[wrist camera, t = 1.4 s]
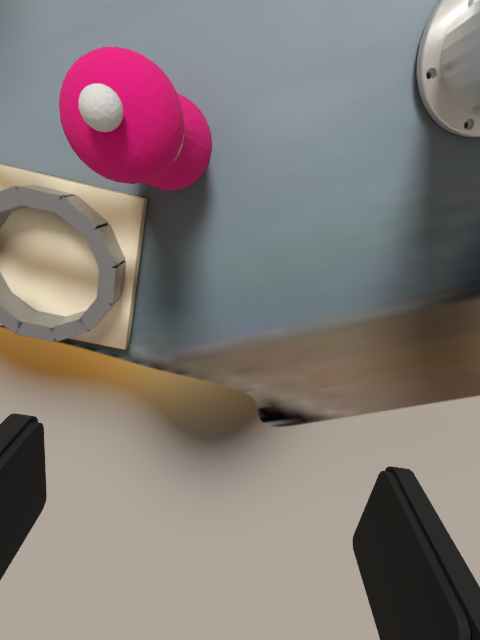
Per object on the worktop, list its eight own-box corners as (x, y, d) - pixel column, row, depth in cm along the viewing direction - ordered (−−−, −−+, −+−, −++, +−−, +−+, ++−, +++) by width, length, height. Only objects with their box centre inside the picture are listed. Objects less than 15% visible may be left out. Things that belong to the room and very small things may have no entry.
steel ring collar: (-23, 171, 32) (-48, 170, 29) (131, 207, 33) (121, 209, 31) (-18, 312, 37) (-38, 323, 34) (117, 339, 38) (107, 352, 35)
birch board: (-24, 158, 33) (-35, 157, 32) (147, 198, 34) (143, 198, 33) (-18, 314, 39) (-27, 319, 37) (129, 343, 40) (125, 349, 39)
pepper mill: (124, 164, 33) (-20, 143, 15) (156, 85, 31) (31, -58, 12) (193, 203, 35) (141, 229, 16) (228, 130, 32) (214, 62, 14)
